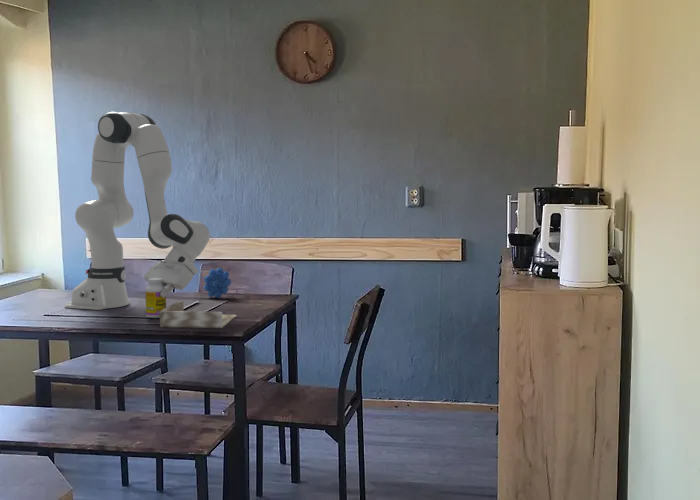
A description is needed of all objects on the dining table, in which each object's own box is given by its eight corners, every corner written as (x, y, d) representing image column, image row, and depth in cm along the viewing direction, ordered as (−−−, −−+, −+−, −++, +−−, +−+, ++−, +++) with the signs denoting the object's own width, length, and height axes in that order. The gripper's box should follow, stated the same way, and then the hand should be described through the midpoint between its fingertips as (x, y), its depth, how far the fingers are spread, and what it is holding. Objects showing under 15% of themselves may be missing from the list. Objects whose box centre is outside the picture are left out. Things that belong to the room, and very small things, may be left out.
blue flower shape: (236, 296, 282) (235, 266, 280) (228, 300, 275) (227, 268, 274) (209, 295, 285) (208, 265, 284) (201, 298, 279) (200, 267, 277)
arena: (160, 327, 231) (159, 311, 230) (179, 315, 248) (179, 300, 248) (221, 328, 228) (220, 312, 228) (236, 316, 246) (236, 301, 245)
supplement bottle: (155, 319, 239) (154, 281, 238) (141, 317, 243) (140, 279, 241) (170, 315, 245) (169, 278, 244) (157, 313, 249) (155, 276, 247)
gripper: (154, 254, 254) (130, 285, 247) (190, 259, 240) (165, 292, 234) (165, 265, 257) (142, 296, 251) (201, 271, 244) (177, 304, 238)
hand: (154, 294), depth 243 cm, fingers closed on supplement bottle, 7 cm apart
